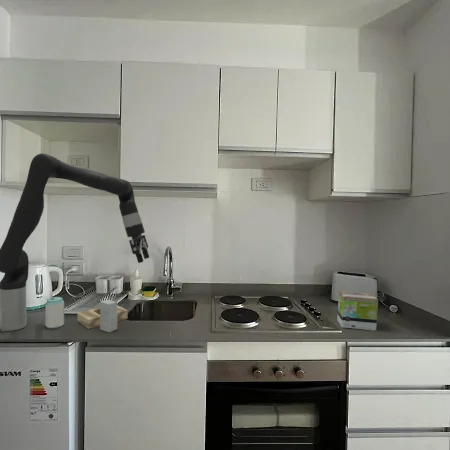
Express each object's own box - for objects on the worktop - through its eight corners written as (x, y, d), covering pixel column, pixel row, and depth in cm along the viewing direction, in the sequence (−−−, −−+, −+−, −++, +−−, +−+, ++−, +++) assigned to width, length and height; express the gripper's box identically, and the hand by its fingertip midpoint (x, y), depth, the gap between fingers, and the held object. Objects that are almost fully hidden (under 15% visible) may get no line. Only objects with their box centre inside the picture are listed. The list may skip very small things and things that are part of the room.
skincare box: (117, 329, 130) (117, 301, 129) (109, 332, 126) (109, 304, 125) (108, 326, 133) (108, 299, 132) (99, 329, 129) (99, 301, 128)
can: (43, 329, 127) (43, 301, 127) (48, 323, 134) (48, 296, 133) (61, 328, 129) (61, 300, 128) (65, 322, 136) (65, 295, 135)
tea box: (341, 328, 138) (343, 296, 137) (336, 320, 148) (338, 290, 147) (377, 331, 136) (378, 298, 135) (369, 323, 145) (371, 292, 145)
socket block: (88, 329, 129) (88, 319, 129) (77, 321, 137) (77, 312, 137) (127, 318, 142) (127, 310, 142) (115, 312, 150) (115, 304, 150)
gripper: (130, 225, 139) (141, 259, 140) (118, 228, 124) (130, 266, 126) (146, 221, 138) (156, 255, 139) (135, 223, 124) (147, 261, 125)
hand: (144, 260), depth 132 cm, fingers open, 8 cm apart
